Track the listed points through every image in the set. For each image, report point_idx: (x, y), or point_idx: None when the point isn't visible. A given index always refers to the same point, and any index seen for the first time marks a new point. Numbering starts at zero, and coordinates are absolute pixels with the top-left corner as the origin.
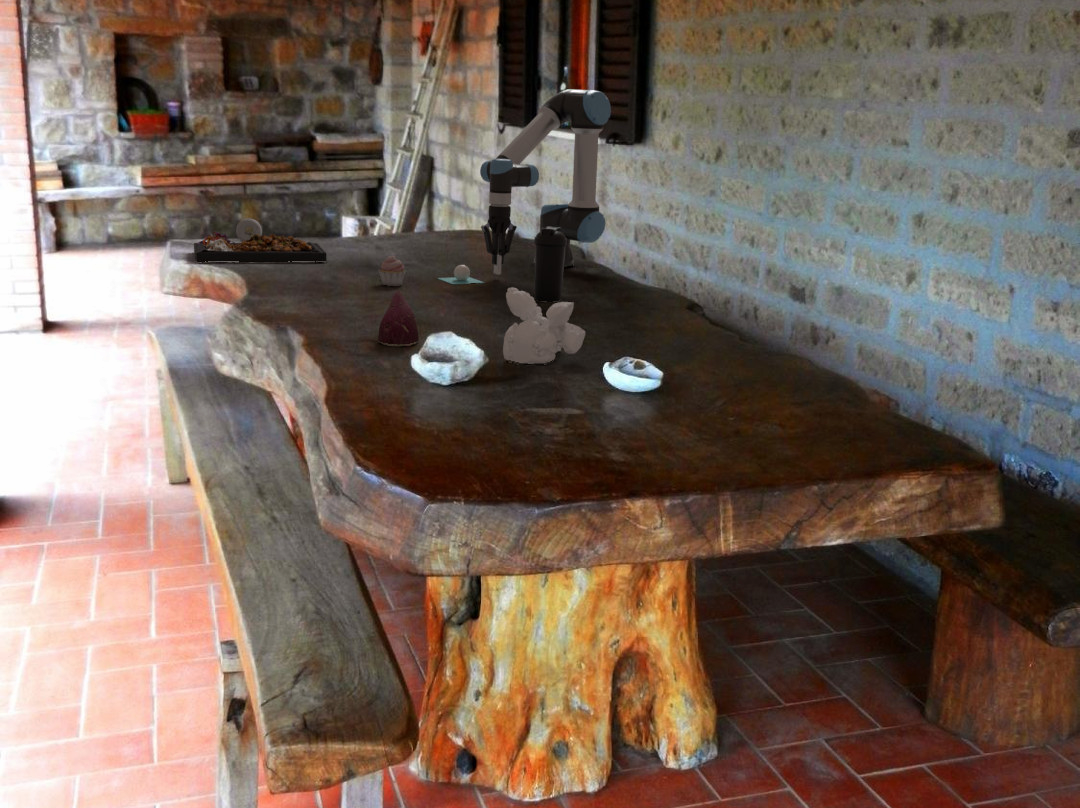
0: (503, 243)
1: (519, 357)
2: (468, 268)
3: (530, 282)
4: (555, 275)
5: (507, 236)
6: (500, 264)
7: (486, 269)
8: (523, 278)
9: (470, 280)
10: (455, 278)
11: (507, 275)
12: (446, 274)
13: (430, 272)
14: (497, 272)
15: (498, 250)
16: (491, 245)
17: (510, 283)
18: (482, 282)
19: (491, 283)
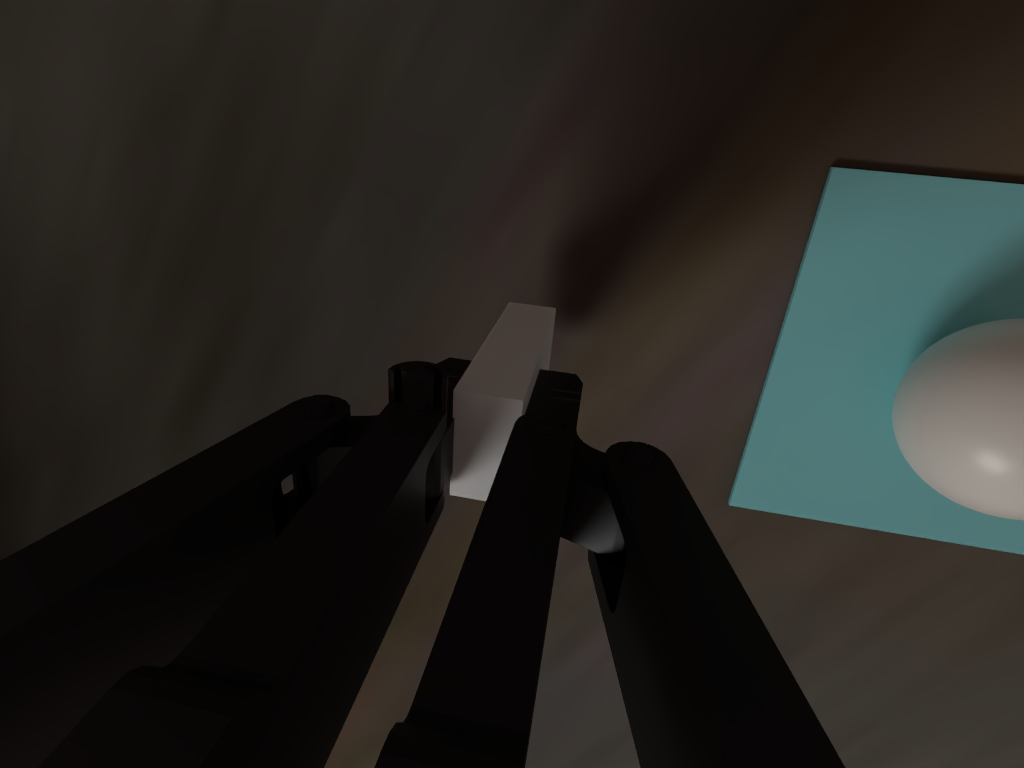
0: (335, 516)
1: None
2: (1001, 392)
3: (289, 26)
4: None
5: (96, 688)
6: (498, 341)
7: (379, 674)
8: (267, 276)
9: (878, 339)
10: (926, 485)
11: None
12: (801, 662)
13: (851, 756)
14: (551, 314)
15: (431, 526)
16: (660, 545)
17: (544, 39)
18: (856, 175)
19: (762, 120)
